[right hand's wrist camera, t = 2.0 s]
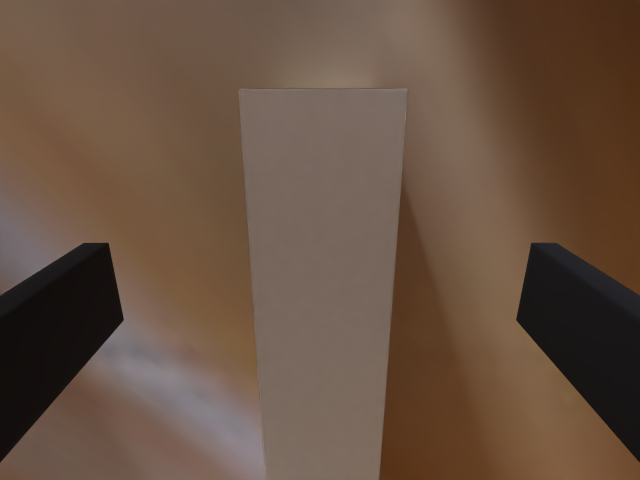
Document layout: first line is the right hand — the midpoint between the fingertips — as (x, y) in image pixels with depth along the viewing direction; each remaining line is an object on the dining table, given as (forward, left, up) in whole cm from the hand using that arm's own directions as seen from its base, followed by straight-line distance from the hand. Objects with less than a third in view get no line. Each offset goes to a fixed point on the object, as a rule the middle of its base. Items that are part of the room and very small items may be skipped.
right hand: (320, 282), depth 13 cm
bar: (+15, +17, -9) cm, 24 cm away
